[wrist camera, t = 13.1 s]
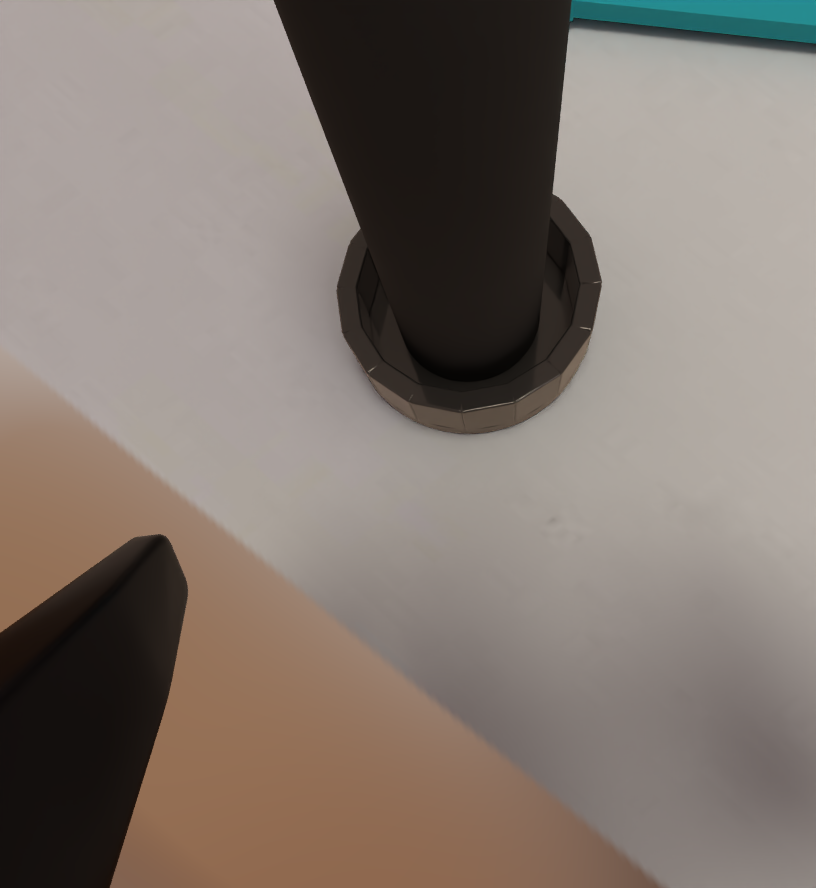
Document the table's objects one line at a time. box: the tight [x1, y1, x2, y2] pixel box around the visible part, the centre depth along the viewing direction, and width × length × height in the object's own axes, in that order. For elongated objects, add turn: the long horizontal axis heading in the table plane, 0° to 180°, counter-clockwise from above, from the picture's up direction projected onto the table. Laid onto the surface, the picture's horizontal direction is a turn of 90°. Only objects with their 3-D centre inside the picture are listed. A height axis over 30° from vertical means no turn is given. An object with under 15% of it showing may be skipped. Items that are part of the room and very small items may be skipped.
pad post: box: [274, 0, 572, 381], centre depth 12 cm, size 4×4×20 cm
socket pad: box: [337, 194, 602, 434], centre depth 21 cm, size 7×7×2 cm
